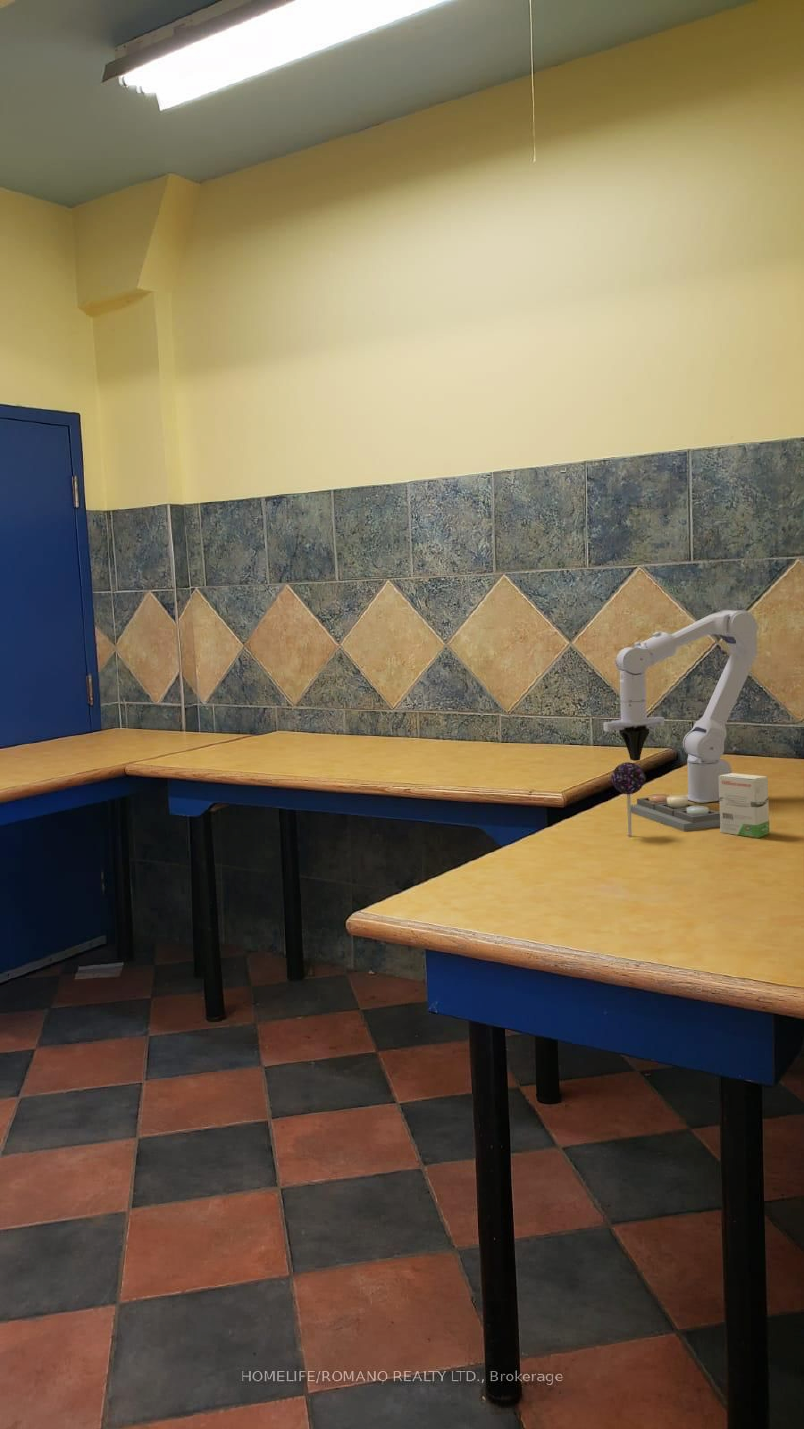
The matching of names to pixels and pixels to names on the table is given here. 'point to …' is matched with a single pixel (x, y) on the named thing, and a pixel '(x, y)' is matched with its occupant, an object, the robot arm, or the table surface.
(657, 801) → the terracotta button
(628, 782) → the lollipop
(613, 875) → the table surface
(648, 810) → the panel
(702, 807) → the blue-grey button
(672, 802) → the cream button
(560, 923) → the table surface
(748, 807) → the ink box
